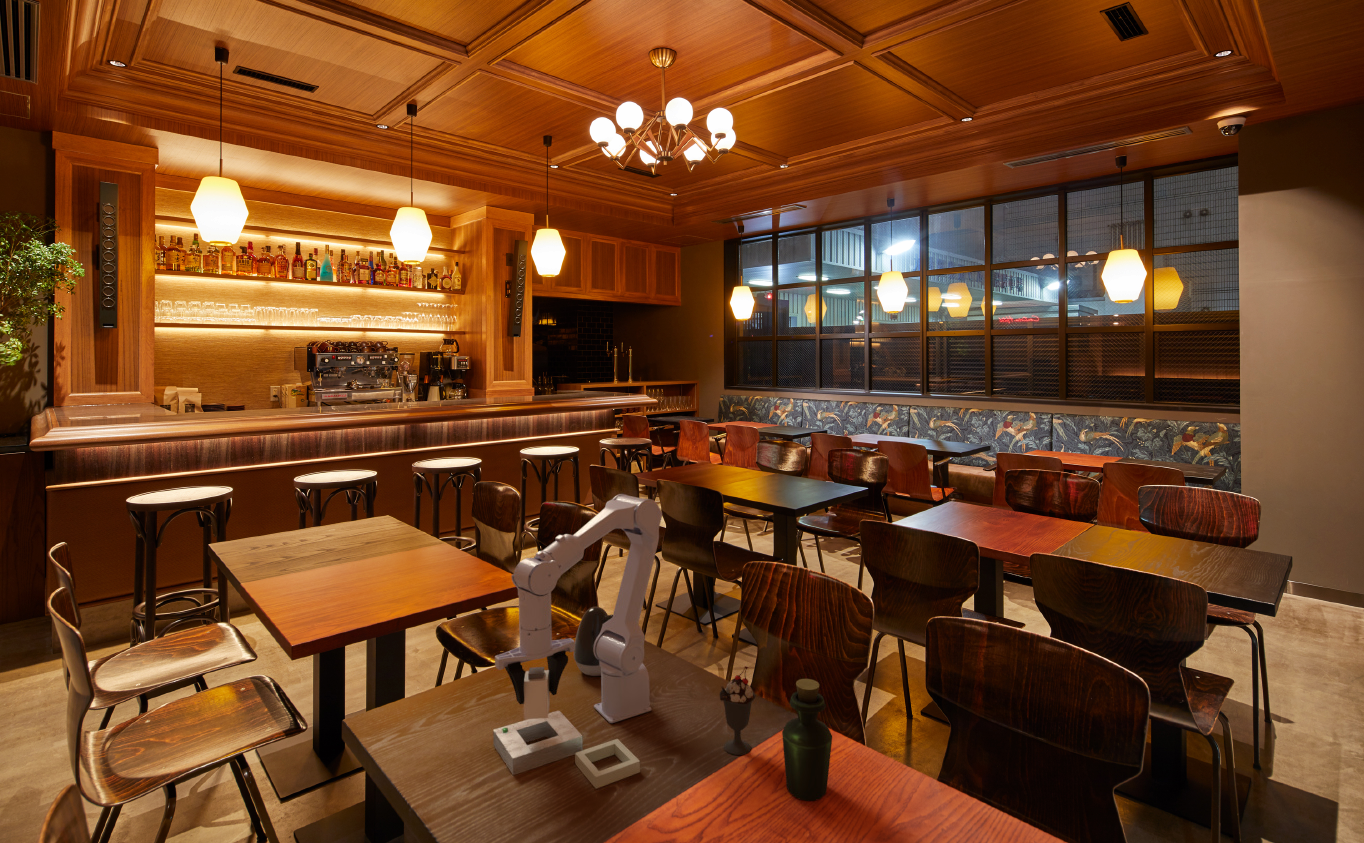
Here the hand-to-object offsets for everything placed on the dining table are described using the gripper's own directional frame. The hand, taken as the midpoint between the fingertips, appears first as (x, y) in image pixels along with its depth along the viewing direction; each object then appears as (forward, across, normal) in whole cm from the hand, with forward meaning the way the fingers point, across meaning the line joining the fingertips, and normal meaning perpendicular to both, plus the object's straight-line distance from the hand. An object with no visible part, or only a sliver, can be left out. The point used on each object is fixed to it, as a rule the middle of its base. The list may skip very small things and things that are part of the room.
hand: (536, 697), depth 121 cm
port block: (+10, 0, 0) cm, 10 cm away
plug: (+3, 0, 0) cm, 3 cm away
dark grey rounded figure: (+10, -23, -23) cm, 34 cm away
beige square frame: (+10, -8, +12) cm, 18 cm away
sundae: (+10, -31, +20) cm, 38 cm away
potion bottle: (+10, -33, +36) cm, 50 cm away
